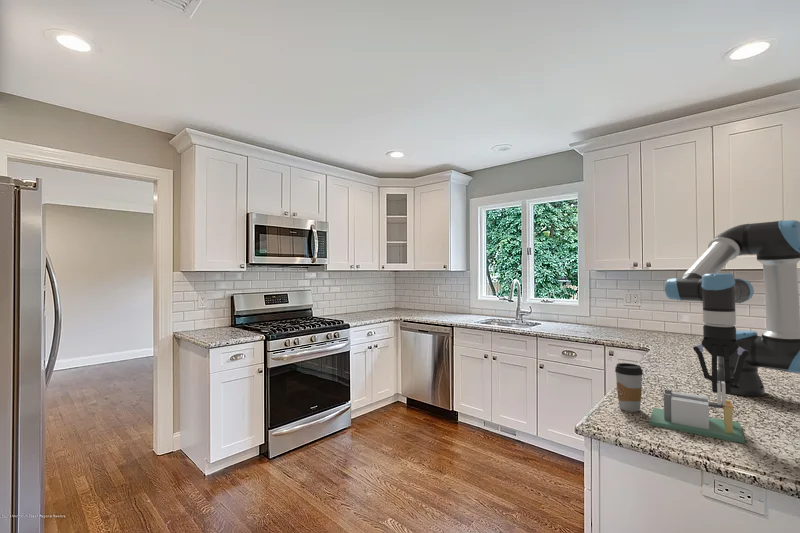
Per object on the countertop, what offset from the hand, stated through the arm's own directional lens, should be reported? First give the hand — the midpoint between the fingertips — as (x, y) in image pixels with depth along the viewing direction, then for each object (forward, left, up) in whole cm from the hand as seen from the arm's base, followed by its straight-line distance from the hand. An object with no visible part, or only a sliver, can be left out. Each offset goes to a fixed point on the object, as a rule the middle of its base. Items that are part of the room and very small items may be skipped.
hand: (721, 404), depth 113 cm
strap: (+5, -3, -1) cm, 6 cm away
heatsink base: (+6, -4, -8) cm, 10 cm away
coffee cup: (+19, -17, -8) cm, 26 cm away
